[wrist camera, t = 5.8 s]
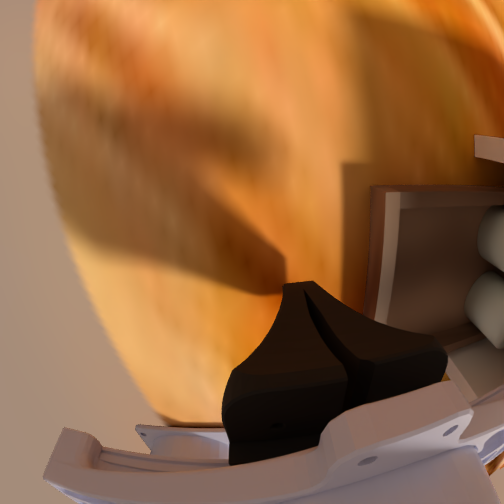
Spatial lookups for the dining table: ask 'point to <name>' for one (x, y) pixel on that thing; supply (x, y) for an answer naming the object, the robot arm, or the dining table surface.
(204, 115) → the dining table surface
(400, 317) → the tray
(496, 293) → the white rounded cylinder
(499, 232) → the grey rounded lump
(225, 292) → the dining table surface
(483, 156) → the grey rectangular block
